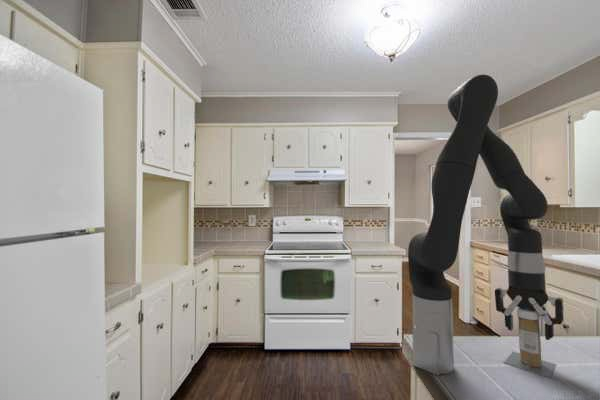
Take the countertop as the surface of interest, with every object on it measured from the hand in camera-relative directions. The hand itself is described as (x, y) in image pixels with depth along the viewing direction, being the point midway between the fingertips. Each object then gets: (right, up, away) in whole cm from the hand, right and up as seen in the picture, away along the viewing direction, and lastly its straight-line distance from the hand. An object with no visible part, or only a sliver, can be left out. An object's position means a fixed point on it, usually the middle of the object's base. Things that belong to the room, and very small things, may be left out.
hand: (528, 334), depth 73 cm
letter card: (0, -7, 0) cm, 7 cm away
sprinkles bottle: (0, -8, 0) cm, 8 cm away
